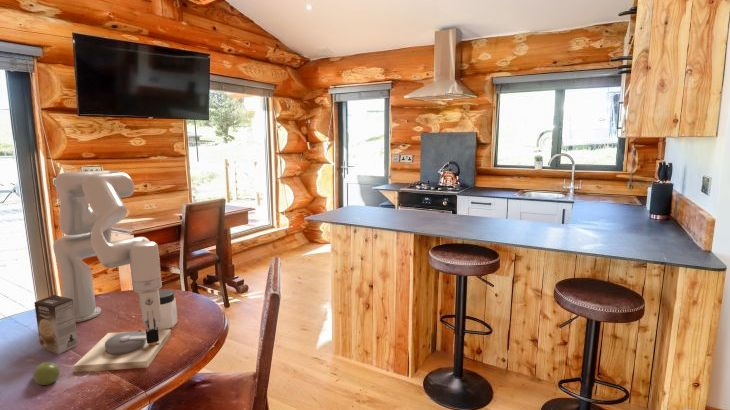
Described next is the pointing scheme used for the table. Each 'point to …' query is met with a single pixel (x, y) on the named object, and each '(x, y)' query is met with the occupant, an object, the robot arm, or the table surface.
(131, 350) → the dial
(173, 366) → the table surface
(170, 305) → the jar
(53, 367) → the pear
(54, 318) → the coffee box
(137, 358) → the board
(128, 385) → the table surface
